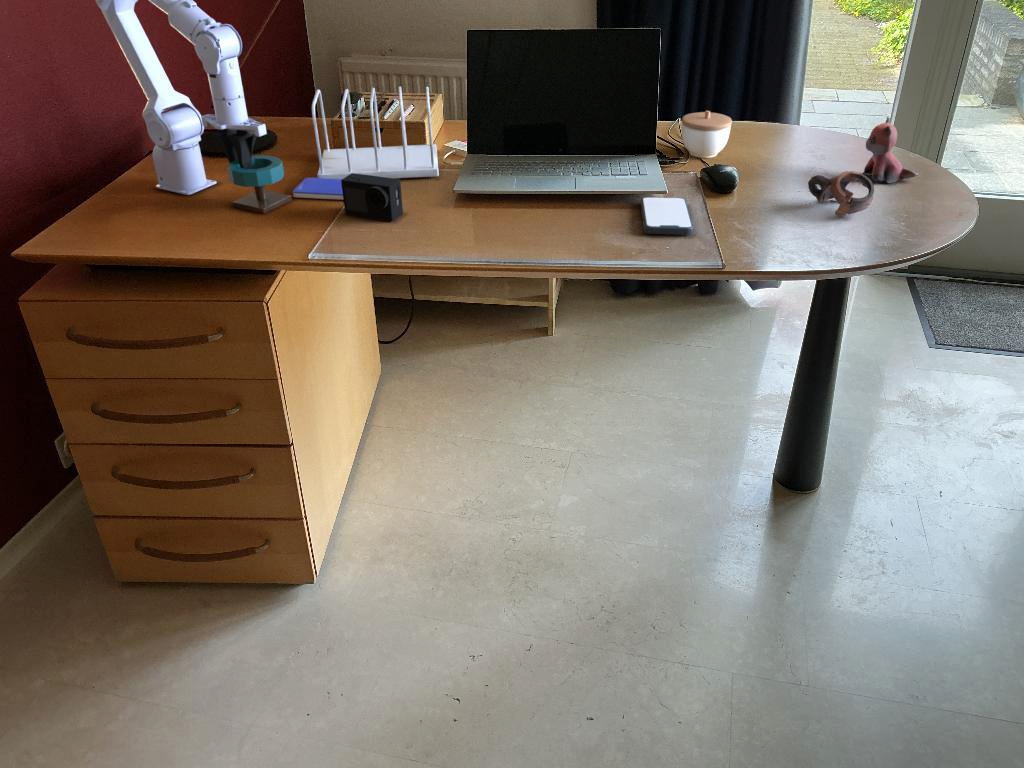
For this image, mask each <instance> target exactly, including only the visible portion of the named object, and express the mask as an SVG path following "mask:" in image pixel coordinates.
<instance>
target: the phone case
mask: <svg viewBox="0 0 1024 768" xmlns="http://www.w3.org/2000/svg"><path fill="white" fill-rule="evenodd" d="M640 208H641V209H640V210H641V216H642V219H641V220H642V222H643V230H644V232H645V233H646V234H649V235H680V236H681V235H683V236H684V235H687V236H688V235H692V234H693V233H694V224H693V220H692V217H691V213H690V209H689V206H688V203H687V199H686V198H683V197H661V196H660V197H651V196H646V197H645V196H644V197H642V198H641V199H640Z"/></svg>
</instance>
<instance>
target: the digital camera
mask: <svg viewBox="0 0 1024 768" xmlns="http://www.w3.org/2000/svg"><path fill="white" fill-rule="evenodd" d="M401 183H402V182H401V178H386V177H379V176H371V175H364V174H355V173H351V174H350V175H348V176H346V177H345V178H343V179H342V180H341V184H342V192H343V200H342V201H343V206H344V214H345V215H346V216H353V217H359V218H366V219H371V220H379V221H385V222H394V221H396V220H397V219H398V218H399V217H401V216H402V215H403V214H404V209H403V197H402V185H401Z"/></svg>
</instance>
